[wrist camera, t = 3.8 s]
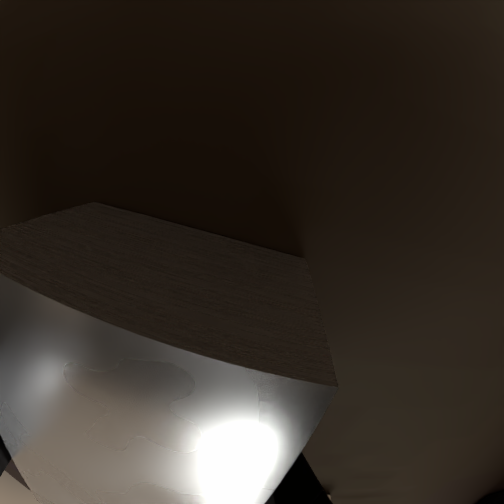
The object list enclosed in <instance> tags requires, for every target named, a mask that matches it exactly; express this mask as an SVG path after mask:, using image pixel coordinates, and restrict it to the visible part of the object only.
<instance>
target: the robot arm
mask: <svg viewBox="0 0 504 504" xmlns="http://www.w3.org/2000/svg"><path fill="white" fill-rule="evenodd" d="M11 458H12V457H11V455H10V453H9V451H8V449H7V447H6V445H5V443H4V441H3V439H2V437H1V435H0V476H1V475H2V473H3V471H4V470H5V468H6V466H7V465H8V463H9V462H10V460H11ZM322 490H323V487H322V486H321V484H320V482H319V481H318V479H317V477H316V476H315V474H314V472H313V471H312V469H311V467H310V465H309V464H308V462H307V460H306V459H305V457H304V455H303V453H302V452H300V454H299V455H298V457H297V458H296V460H295V461H294V463H293V464H292V466H291V467H290V469H289V470H288V472H287V473H286V475H285V476H284V478H283V479H282V480H281V482H280V483H279V485H278V486H277V487H276V489H275V490H274V492H273V493H272V494H271V496H270V497H269V498H268V500H267V501H266V502H265V504H333V503H332V502H331V500H330V499H329V497H328V495H327V494H326V492H325V491H324V490H323V491H322ZM479 504H504V491H502V492H499V493H496V494H493V495H490V496H488V497H486V498H485V499H483V500H482V501H481V502H480V503H479Z"/></svg>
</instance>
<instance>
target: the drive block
mask: <svg viewBox="0 0 504 504" xmlns="http://www.w3.org/2000/svg"><path fill="white" fill-rule="evenodd" d="M338 388H339V387H338V382H337V378H336V374H335V370H334V366H333V361H332V357H331V353H330V349H329V345H328V341H327V337H326V333H325V329H324V325H323V322H322V318H321V314H320V310H319V306H318V303H317V299H316V295H315V291H314V288H313V284H312V280H311V277H310V273H309V270H308V266H307V263H306V259H304V258H300V257H296V256H293V255H289V254H286V253H282V252H278V251H275V250H271V249H268V248H264V247H260V246H257V245H253V244H249V243H246V242H242V241H239V240H235V239H231V238H228V237H224V236H220V235H217V234H213V233H209V232H206V231H202V230H198V229H195V228H191V227H187V226H184V225H180V224H176V223H173V222H169V221H165V220H162V219H158V218H154V217H150V216H147V215H143V214H139V213H136V212H132V211H128V210H124V209H121V208H117V207H113V206H109V205H106V204H102V203H98V202H92V203H88V204H84V205H80V206H76V207H73V208H69V209H65V210H62V211H58V212H54V213H51V214H47V215H44V216H40V217H37V218H34V219H30V220H27V221H24V222H20V223H17V224H14V225H11V226H8V227H5V228H2V229H0V435H1V437H2V439H3V441H4V443H5V445H6V447H7V449H8V451H9V453H10V455H11V457H12V459H13V461H14V463H15V464H16V466H17V468H18V470H19V472H20V473H21V475H22V477H23V478H24V480H25V482H26V483H27V485H28V487H29V488H30V490H31V492H32V493H33V495H34V496H35V498H36V499H37V501H39V502H41V503H42V504H265V502H266V501H267V500H268V498H269V497H270V496H271V494H272V493H273V492H274V490H275V489H276V487H277V486H278V485H279V483H280V482H281V480H282V479H283V478H284V476H285V475H286V473H287V472H288V470H289V469H290V467H291V466H292V464H293V463H294V461H295V460H296V458H297V457H298V455H299V454H300V452H301V451H302V449H303V448H304V446H305V444H306V443H307V441H308V440H309V438H310V436H311V435H312V433H313V432H314V430H315V428H316V427H317V425H318V423H319V422H320V420H321V418H322V416H323V415H324V413H325V411H326V410H327V408H328V406H329V404H330V402H331V401H332V399H333V397H334V395H335V393H336V392H337V390H338Z"/></svg>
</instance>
